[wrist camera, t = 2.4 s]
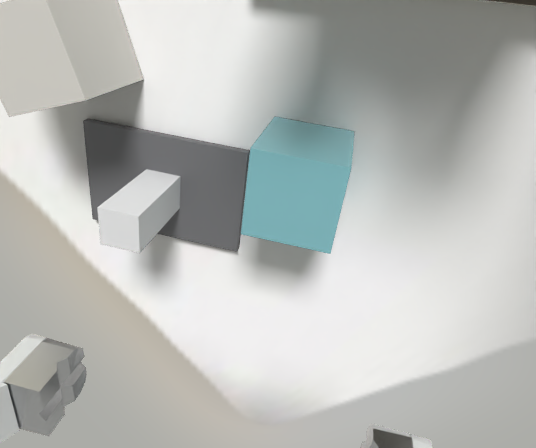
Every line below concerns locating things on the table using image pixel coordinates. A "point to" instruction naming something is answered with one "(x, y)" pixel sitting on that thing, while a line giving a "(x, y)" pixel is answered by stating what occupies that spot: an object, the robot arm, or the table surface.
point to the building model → (516, 2)
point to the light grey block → (62, 53)
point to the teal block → (297, 183)
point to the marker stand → (163, 187)
